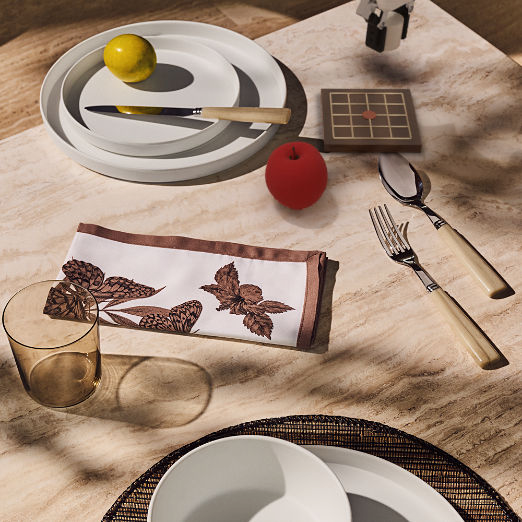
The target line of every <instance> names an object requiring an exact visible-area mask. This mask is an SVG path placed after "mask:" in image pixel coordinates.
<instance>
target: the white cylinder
mask: <svg viewBox="0 0 522 522" xmlns="http://www.w3.org/2000/svg"><path fill="white" fill-rule="evenodd" d="M380 12H381V11H379V12H377V13H376V14H377V15H378V17H379V16H380ZM403 23H404V18H403V16H402V15H400V14H399V13H396V12H392V11H390V12H388V15H387V19H386V22H385V27H387V33H386V40H385V47H384V51H383V52H391V51H394V50H397V49H398V48H399V47H400V46H401V40H402V39H401V36H402V29H403Z"/></svg>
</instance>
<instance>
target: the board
mask: <svg viewBox="0 0 522 522" xmlns="http://www.w3.org/2000/svg"><path fill="white" fill-rule="evenodd" d="M320 109H321V110H320V111H321V127H322V128H321V129H322V141H323V144H322V145H323V152H324V153H421V152H422V147H423V143H422V139H421V135H420V134H421V133H420V130H419V123H418V119H417V115H416V110H415V106H414V101H413V95H412V92H411V88H320Z"/></svg>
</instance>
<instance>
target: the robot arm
mask: <svg viewBox="0 0 522 522" xmlns="http://www.w3.org/2000/svg"><path fill="white" fill-rule="evenodd" d="M415 1H416V0H360V2H359V4H358V5H357V8H356V10H355V14H356V15H357V16H359V17H361V18H363V20H364V22H365V23H367V24H366V33H365V39H364V40H365V41H364V44H365V47H367V48H369V49H371V50H373V51H375V52H377V53H379V54H381V53H383V52H385V51H384V47H385V40H386V33H387V27H385V22H386V19H387V15H388V12H390V11H392V12H396V13H399V14H400V15H402V16H403V18H404V23H403V29H402V36H401V40H402V41H404V40H406V39H407V35H408V30H409V25H410V20H411V19H410V18H411V13H413V11H414V9H415ZM376 9H377V10H379V12H380V16H379V17H378V15H377V13H376Z"/></svg>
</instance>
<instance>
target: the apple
mask: <svg viewBox="0 0 522 522" xmlns="http://www.w3.org/2000/svg"><path fill="white" fill-rule="evenodd" d="M328 173H329V172H328V166H327V163H326V161H325V159H324V157H323V155H322V153H321V152H320V151H319V149H318V148H316V146H314V145H312V144H311V143H309V142H304V141H291V142H287V143H283V144H281V145H279V146H278V147H276V148H274V149H273V151H272V152H271V154H270V155H269V157H268V159H267V162H266V165H265V171H264V181H265V185H266V188H267V190H268V192H269V193H270V195H271V196H272V197H273V198H274V199H275V200H276V201H277V202H278V203H279V204H280V205H282V206H283V207H285V208H288V209H290V210H293V211H301V210H304V209H309V208H310V207H312V206H314V205H315V204H316V203H317V202H318V201H319V200H320V198H322V196H323V195H324V193H325V191H326V189H327V186H328V180H329V174H328Z"/></svg>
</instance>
